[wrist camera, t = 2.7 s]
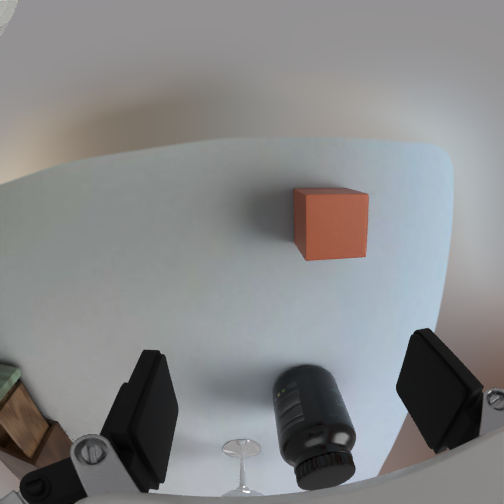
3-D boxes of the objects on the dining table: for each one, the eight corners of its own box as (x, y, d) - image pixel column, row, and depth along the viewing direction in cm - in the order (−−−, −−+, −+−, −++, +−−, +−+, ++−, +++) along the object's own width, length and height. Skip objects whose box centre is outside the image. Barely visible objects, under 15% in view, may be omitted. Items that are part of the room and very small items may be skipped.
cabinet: (8, 407, 31) (-16, 442, 21) (57, 421, 31) (34, 465, 22) (48, 460, 35) (33, 492, 26) (98, 474, 35) (85, 512, 26)
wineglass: (277, 443, 32) (288, 520, 20) (251, 465, 33) (254, 535, 22) (231, 430, 31) (230, 514, 19) (207, 453, 32) (202, 527, 21)
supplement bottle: (277, 413, 30) (290, 501, 18) (265, 372, 28) (278, 471, 16) (335, 399, 30) (365, 482, 18) (331, 356, 28) (370, 447, 16)
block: (293, 188, 23) (305, 194, 18) (346, 187, 23) (368, 194, 19) (294, 243, 24) (305, 261, 20) (345, 240, 24) (366, 257, 20)
